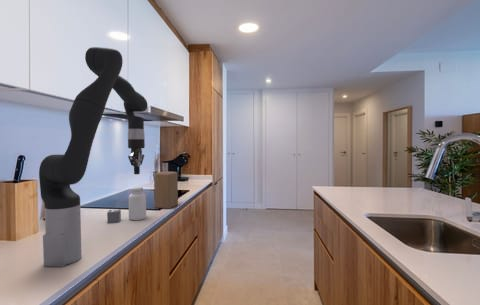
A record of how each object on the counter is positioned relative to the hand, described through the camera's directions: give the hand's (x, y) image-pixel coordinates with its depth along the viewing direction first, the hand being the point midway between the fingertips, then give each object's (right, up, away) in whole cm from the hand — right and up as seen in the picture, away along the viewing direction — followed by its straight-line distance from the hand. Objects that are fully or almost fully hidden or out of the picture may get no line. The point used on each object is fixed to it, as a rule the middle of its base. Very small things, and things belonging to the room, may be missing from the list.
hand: (136, 174), depth 127 cm
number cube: (-9, -22, -4) cm, 24 cm away
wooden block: (+7, -21, +24) cm, 33 cm away
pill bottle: (0, -22, +1) cm, 22 cm away
